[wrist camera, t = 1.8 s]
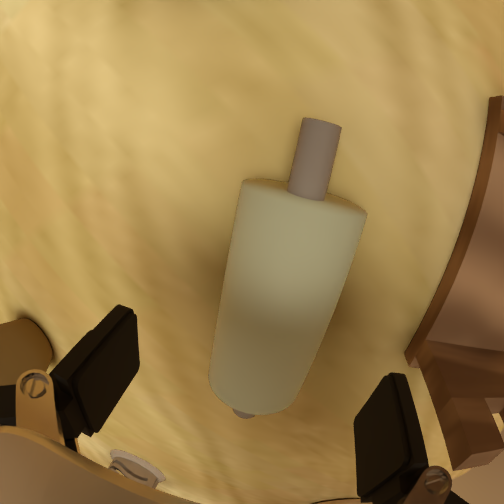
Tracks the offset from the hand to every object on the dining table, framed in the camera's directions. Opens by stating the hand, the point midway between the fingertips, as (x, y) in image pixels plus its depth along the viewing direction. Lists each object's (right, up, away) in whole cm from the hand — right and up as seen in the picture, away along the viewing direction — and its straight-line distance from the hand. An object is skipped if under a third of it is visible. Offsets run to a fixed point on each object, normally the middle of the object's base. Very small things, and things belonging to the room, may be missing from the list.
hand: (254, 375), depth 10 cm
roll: (+1, +2, +6) cm, 6 cm away
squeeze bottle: (-25, -6, +17) cm, 31 cm away
